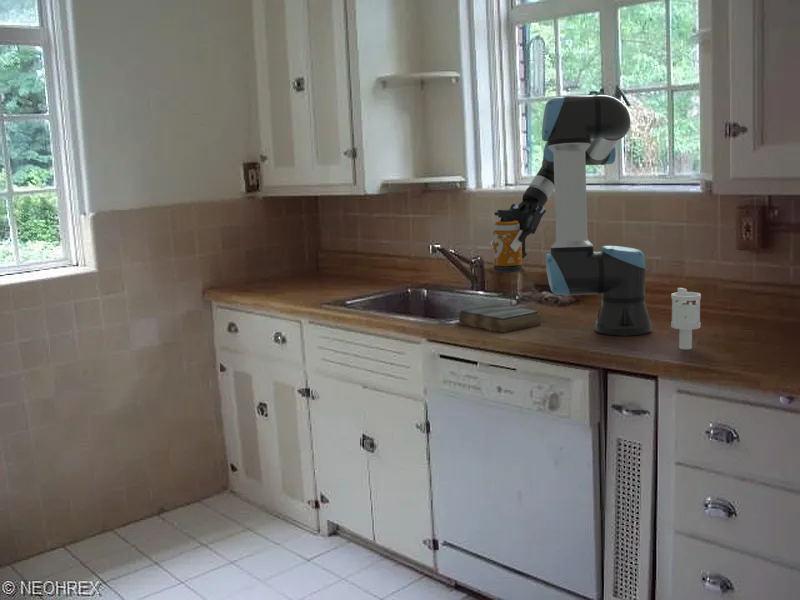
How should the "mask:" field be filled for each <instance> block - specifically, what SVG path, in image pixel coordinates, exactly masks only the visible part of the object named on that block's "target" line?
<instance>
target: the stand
mask: <svg viewBox="0 0 800 600" xmlns="http://www.w3.org/2000/svg"><path fill="white" fill-rule="evenodd" d="M541 315H542V314H541V312H539V311H538V310H533V309H528V308H522V307H516V306H511V305H506V304H500V303H499V304H498V303H494V304H488V305H483V306H479V307H478V306H477V307H472V308H467V309H462V310H461V311H460V312H458V324H459V325H463V326H464V325H465V326H469V327H473V328H477V327H479V329H482V328H486V329H485V330H487V329H491V330H490V331H492V330H495V331H494V332H497V331H500V332H499V333H501V332H504V333H508V332H507V331H509V332H513V331H512V330H514V331H518V330H523V329H527V328H531V327H536V326H540V325H542V319H541V317H542V316H541ZM517 329H518V330H517Z"/></svg>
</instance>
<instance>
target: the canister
mask: <svg viewBox="0 0 800 600" xmlns="http://www.w3.org/2000/svg"><path fill="white" fill-rule="evenodd" d="M509 209H510V208H509ZM509 209H497V211H495V212H494V215H495V216H498V217H497V218H500V220H501V221H500V220H498V221H495V224H494V230H493V231H492V240H493V248H492V249H493V250H492V251H493V270H494V271H496V272H498V273H501V274H512V273H518V272H520V271H521V270H523V265H522V264H523V259H524V258H526V256H527V255H528V253H527V252H526V239H525V240H524V241H523V242H522V243H521V245H520V247H519V248H518V250H517V251H516V252H514V251H513V249H512V248H511V247H510V245H511V244H512V242H513V240H514V239H515V237H516V236H517V234H518V233H519V231H520V230H522V229H523V226H524V221H525V216H526V215H525V214H524V213H523V212H521V211H520V210H518V209H517V208H515V209H514V208H511V209H510V210H509ZM517 215H518V216H520V217H518V216H517ZM522 217H523V218H522ZM522 231H523V230H522Z"/></svg>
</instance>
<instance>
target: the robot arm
mask: <svg viewBox="0 0 800 600" xmlns="http://www.w3.org/2000/svg"><path fill="white" fill-rule="evenodd" d="M631 126H632V115H631V112H630V110H629V108H628V107H627V105H625V103H624V102H622V101H620V100H619V99H617V97H613V96H610V95H605V94H597V95H596V94H595V95H564V96H563V95H562V96H556V97H551V98H548V99H547V100H546V103H545V107H544V111H543V119H542V127H541V140H542V141H544V142H546V143H545V145H544V149H543V154H542V161H541V167H540V168H539V170H538V172H537V173H536V175H535V176H534V177H533V179H532V181H531V182H530V184H529V185H528V187H527V189H526V190H525V192H524V193H523V195H522V201H521V202H520V203H519V204H515V203H512V204H511V206H510V207H509V209H508V210H510V209H511V208H514V209H515V208H517V209H518V210H520V211H521V212H523V213H524V214H525V215H526V216H525V221H524V226H523V229H522V230H523V231H522V230H520V231H519V233H518V234H517V236H516V237H515V239H514V240H513V242H512V244H511V245H510V247H511V248H512V249H513V251H514V252H516V251H517V250H518V248H519V247H520V245H521V243H522V242H523V241H524V240H525V241H526V238H527V237H528V236H529V235H535V234H536V231H537V229H538V227H539V224H540V222H541V220H542V218H543V216H544V214H545V213H546V212H547V210H546V208H545V205H546V203H547V202H548V199H549V198H550V197H551V195H552V194H553V192H554V215H555V217H554V218H555V219H554V222H555V240H554V242H553V243H552V245H550V252H548V253H546V254H545V257H544V258H545V268H546V276H547V280H548V284H549V288H550V290H551V292H552V293H553V294H554V295H557V296H559V295H560V296H577V295H581V296H582V295H601V305H600V307H599V310H598V313H597V318H596V320H595V331H596V332H597V333H599V334H603V335H609V336H619V337H621V336H639V335H645V334H648V333H651V332H652V320H651V319H650V316H649V312H648V308H647V306H646V305H647V304H646V269H647V267H646V257H645V254H644V252H643V251H642V250H641V249H637V248H634V247H628V246H619V245H602V246H601V249H600V251H594V244H593V243H592V242H591V241H590V240H589V237H588V208H587V207H588V206H587V205H588V204H587V203H588V202H587V173H586V172H587V169H586V166H606V165H612V164H614V162H615V161H616V152H617V150H616V144H617V143H618V141H619V140H622V139H623V138H624V137H625V136H627V134H628V132H629V130H630V129H631ZM517 216H518V215H517ZM518 217H520V216H518ZM522 218H523V217H522ZM499 221H501V219H500V220H499ZM489 245H490V246H491V248H492V249H493V239H491V241H490V243H489Z"/></svg>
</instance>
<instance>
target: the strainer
mask: <svg viewBox="0 0 800 600" xmlns="http://www.w3.org/2000/svg"><path fill="white" fill-rule="evenodd" d="M670 296H671V323H670V327H671V328H672V329H675V330H679V331H678V332H679V333H678V340H679V341H678V343H679V344H678V347H679V348H678V349H679V350H680V349H681V350H687V351H688V350H692V349H693V330H698V329H700V328H701V299H702V294H701V292H694V291H688V289H687V288H684V287H677V292H673V293H671V295H670ZM694 301H695V304H693V302H694ZM687 303H688V304H687Z"/></svg>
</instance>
